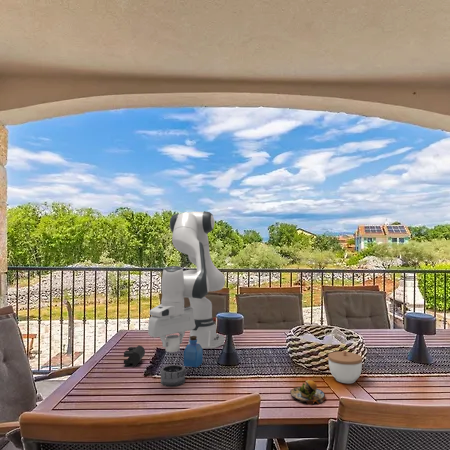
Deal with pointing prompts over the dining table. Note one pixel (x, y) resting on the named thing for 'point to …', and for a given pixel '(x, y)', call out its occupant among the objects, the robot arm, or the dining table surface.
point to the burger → (308, 393)
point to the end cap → (133, 356)
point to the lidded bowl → (345, 366)
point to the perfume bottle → (193, 353)
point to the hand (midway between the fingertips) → (172, 345)
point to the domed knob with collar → (172, 375)
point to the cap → (173, 343)
